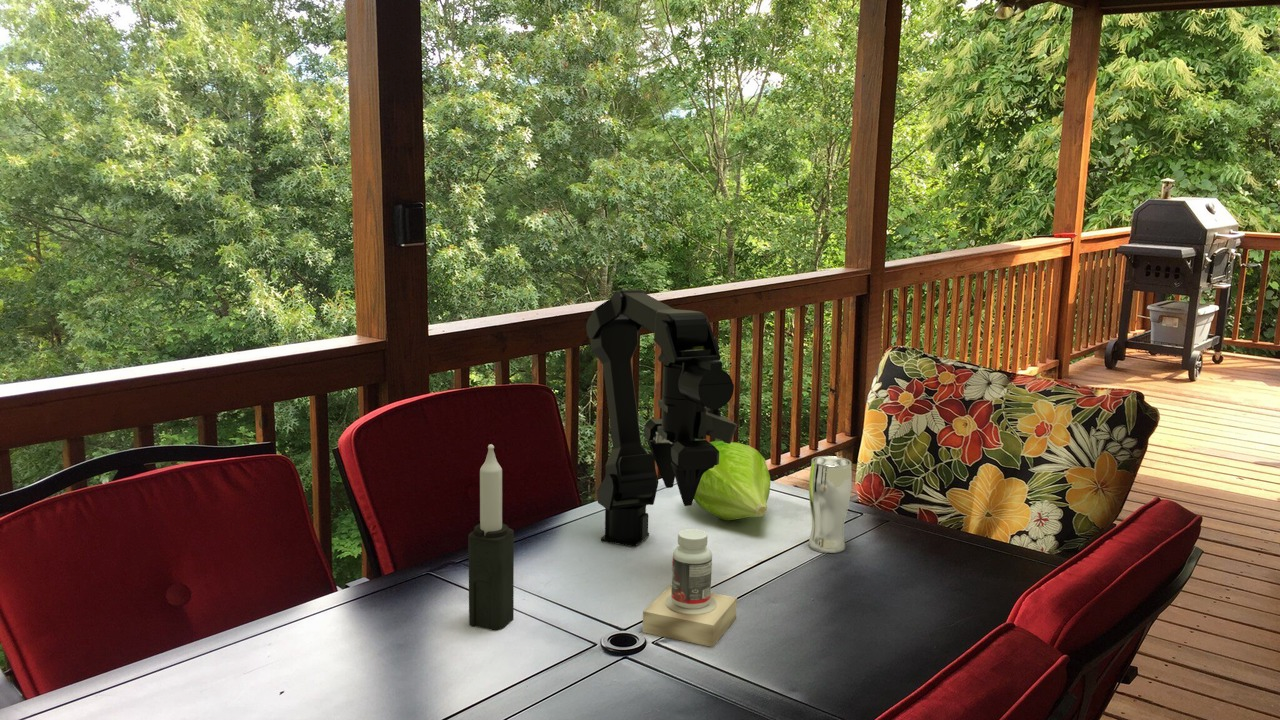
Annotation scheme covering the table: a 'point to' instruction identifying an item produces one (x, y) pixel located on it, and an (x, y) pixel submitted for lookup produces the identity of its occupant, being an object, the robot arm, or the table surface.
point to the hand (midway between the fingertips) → (678, 496)
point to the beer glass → (829, 502)
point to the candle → (491, 555)
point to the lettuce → (735, 483)
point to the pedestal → (690, 619)
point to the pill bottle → (691, 570)
